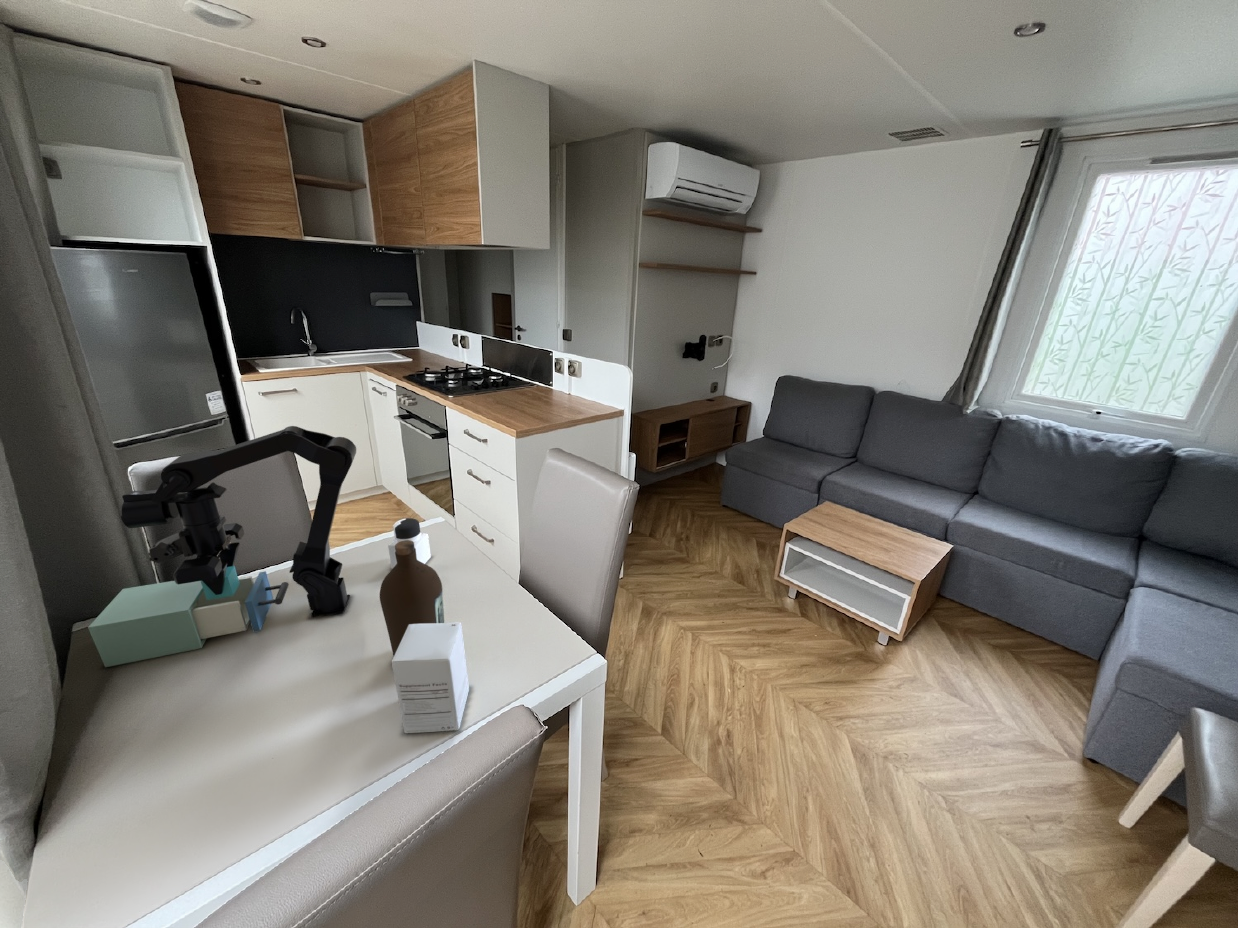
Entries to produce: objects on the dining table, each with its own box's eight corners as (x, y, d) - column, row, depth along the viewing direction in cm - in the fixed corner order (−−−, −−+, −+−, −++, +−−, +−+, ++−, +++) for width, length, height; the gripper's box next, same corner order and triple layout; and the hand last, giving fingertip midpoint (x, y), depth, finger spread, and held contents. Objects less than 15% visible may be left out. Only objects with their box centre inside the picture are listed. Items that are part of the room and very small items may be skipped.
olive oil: (389, 683, 89) (368, 564, 81) (393, 645, 99) (374, 534, 90) (451, 669, 93) (436, 554, 84) (449, 633, 102) (435, 526, 93)
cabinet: (222, 610, 108) (211, 574, 104) (201, 648, 97) (188, 609, 94) (137, 625, 102) (122, 588, 99) (105, 667, 92) (87, 627, 88)
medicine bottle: (431, 557, 130) (426, 516, 126) (418, 572, 123) (412, 529, 119) (405, 555, 130) (399, 514, 126) (391, 569, 124) (384, 527, 120)
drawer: (295, 595, 112) (288, 567, 109) (284, 626, 102) (276, 596, 99) (199, 612, 106) (189, 583, 103) (177, 647, 96) (166, 616, 93)
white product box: (418, 690, 88) (408, 622, 83) (470, 688, 89) (462, 620, 83) (402, 734, 79) (389, 661, 74) (459, 731, 80) (450, 658, 75)
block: (239, 583, 103) (234, 565, 102) (233, 595, 100) (227, 577, 98) (214, 588, 102) (208, 569, 100) (206, 600, 98) (200, 581, 96)
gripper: (169, 505, 100) (191, 571, 106) (123, 549, 84) (152, 624, 89) (235, 497, 104) (253, 561, 110) (203, 538, 88) (226, 611, 93)
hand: (222, 587), depth 100 cm, fingers closed on block, 4 cm apart
